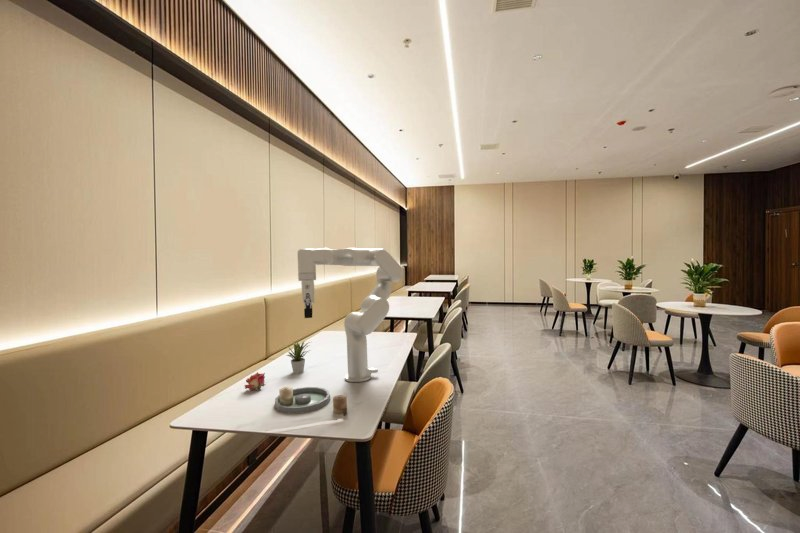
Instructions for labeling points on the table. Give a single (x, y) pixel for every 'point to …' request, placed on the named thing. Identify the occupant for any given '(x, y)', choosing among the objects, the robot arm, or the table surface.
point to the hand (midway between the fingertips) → (308, 316)
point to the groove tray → (305, 400)
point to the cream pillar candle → (286, 396)
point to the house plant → (298, 357)
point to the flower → (255, 381)
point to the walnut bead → (340, 404)
